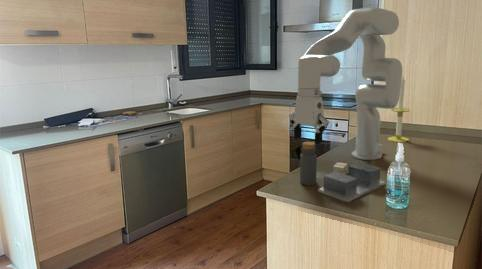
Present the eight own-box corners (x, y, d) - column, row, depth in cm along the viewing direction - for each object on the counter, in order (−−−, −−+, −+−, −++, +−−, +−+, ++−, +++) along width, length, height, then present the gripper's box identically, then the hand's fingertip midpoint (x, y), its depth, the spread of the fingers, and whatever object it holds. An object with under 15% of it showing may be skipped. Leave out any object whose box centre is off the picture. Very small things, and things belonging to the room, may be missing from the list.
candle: (405, 137, 192) (410, 73, 183) (411, 142, 182) (417, 75, 174) (385, 137, 193) (389, 74, 185) (390, 142, 183) (394, 76, 175)
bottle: (318, 181, 137) (319, 142, 134) (312, 186, 133) (313, 146, 129) (303, 178, 140) (303, 140, 137) (297, 183, 135) (297, 144, 132)
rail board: (355, 175, 141) (356, 160, 140) (384, 184, 132) (385, 168, 131) (318, 191, 128) (318, 175, 126) (347, 202, 119) (348, 185, 117)
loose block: (336, 171, 146) (337, 162, 145) (347, 173, 144) (347, 163, 143) (332, 176, 142) (333, 166, 141) (343, 177, 140) (343, 167, 139)
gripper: (336, 94, 124) (334, 143, 128) (297, 89, 137) (296, 134, 141) (321, 96, 119) (319, 147, 123) (283, 91, 132) (282, 138, 136)
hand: (307, 140), depth 132 cm, fingers open, 9 cm apart
